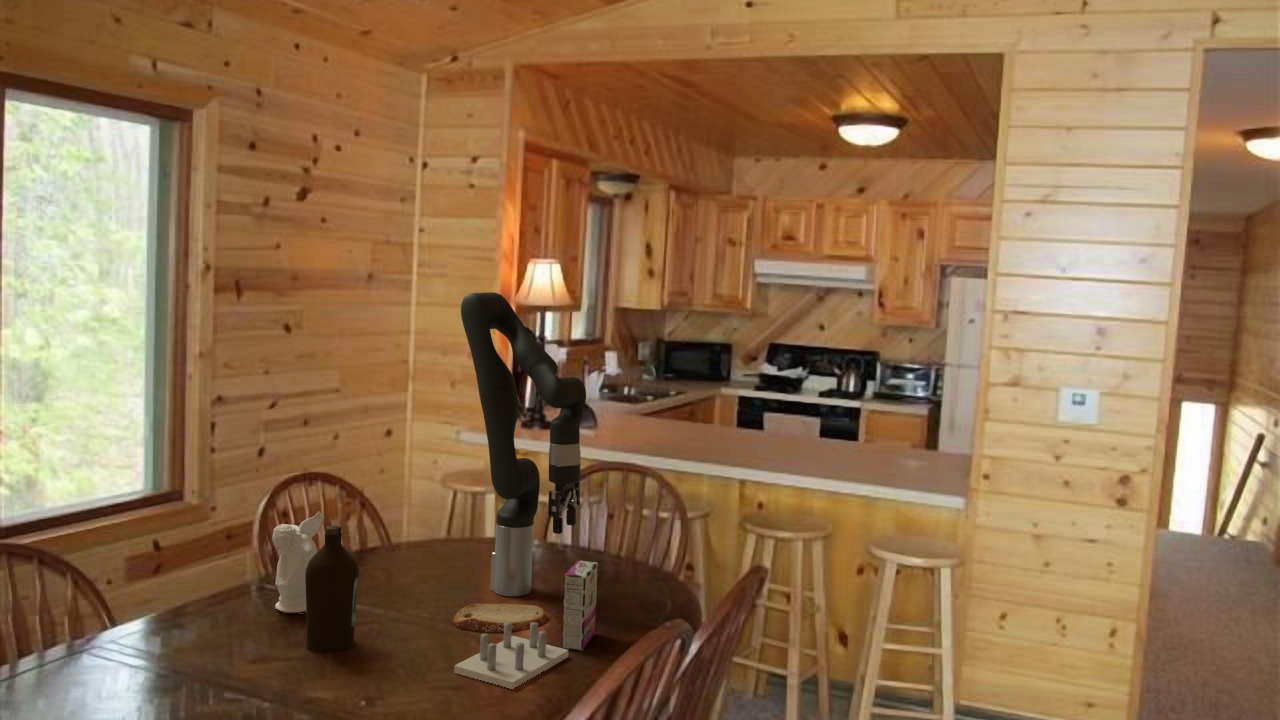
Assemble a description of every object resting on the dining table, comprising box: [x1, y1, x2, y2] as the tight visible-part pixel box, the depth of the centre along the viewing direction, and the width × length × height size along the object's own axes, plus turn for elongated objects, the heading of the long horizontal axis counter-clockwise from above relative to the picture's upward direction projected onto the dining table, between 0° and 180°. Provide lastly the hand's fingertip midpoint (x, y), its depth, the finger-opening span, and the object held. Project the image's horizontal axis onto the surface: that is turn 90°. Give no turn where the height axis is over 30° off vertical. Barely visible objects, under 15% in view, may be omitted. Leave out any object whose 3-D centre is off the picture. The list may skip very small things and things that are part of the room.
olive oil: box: [305, 524, 360, 653], centre depth 207 cm, size 11×11×25 cm
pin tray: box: [453, 622, 569, 690], centre depth 202 cm, size 14×20×6 cm
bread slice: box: [450, 602, 548, 633], centre depth 227 cm, size 18×18×4 cm
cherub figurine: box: [271, 510, 324, 612], centre depth 229 cm, size 12×12×22 cm
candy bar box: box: [561, 560, 599, 652], centre depth 217 cm, size 11×5×16 cm, turn 168°
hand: (564, 529), depth 237 cm, fingers open, 8 cm apart
